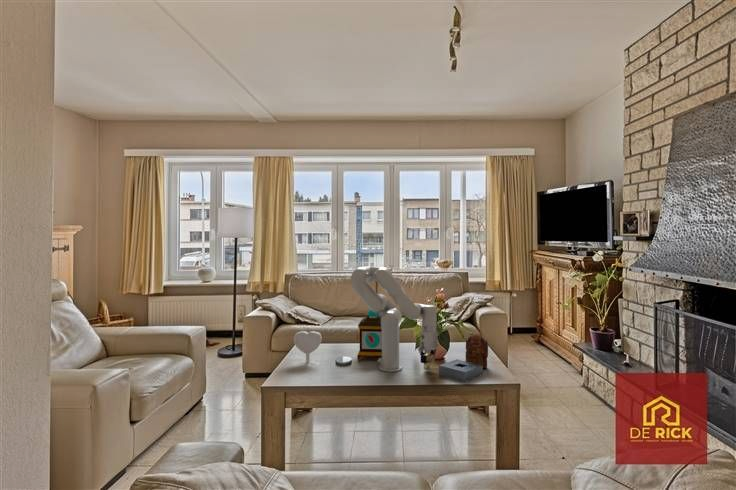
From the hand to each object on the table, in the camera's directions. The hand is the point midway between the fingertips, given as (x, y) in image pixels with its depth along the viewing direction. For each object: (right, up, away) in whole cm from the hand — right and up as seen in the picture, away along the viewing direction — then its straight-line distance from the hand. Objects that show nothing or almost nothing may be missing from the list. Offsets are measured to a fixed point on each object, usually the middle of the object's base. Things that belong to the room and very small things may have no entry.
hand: (427, 361), depth 225 cm
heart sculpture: (-66, -6, +16) cm, 68 cm away
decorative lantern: (-28, -5, +27) cm, 40 cm away
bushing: (0, -4, 0) cm, 4 cm away
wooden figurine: (+28, -6, +7) cm, 29 cm away
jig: (+16, -5, -6) cm, 18 cm away
